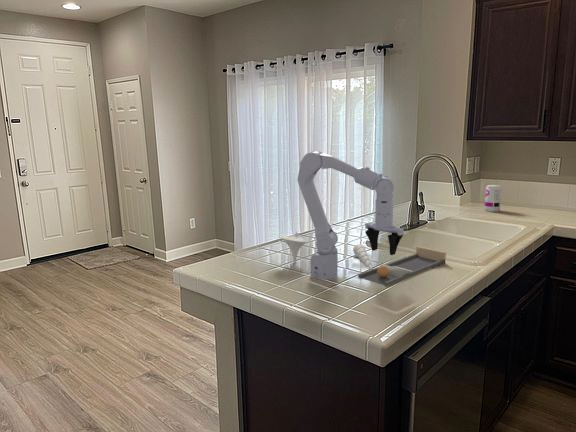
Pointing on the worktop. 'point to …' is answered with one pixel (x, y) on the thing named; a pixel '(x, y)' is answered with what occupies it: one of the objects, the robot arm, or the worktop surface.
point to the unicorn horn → (362, 255)
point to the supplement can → (492, 198)
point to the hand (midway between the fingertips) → (383, 252)
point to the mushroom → (294, 243)
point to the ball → (383, 271)
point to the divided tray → (407, 266)
